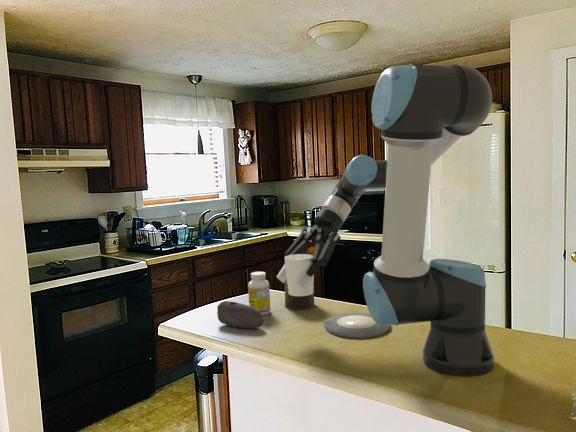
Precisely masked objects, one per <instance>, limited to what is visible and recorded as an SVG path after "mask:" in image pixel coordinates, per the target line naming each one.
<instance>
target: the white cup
mask: <svg viewBox="0 0 576 432" xmlns="http://www.w3.org/2000/svg"><path fill="white" fill-rule="evenodd" d="M313 255H314V254H307V253H304V254H294V255H288V256H286V255H284V263H285V269H286V278H287V285H288V294H289V295H292V296H308V295H311V294H312V293H313V283H315V282H314V281H315V278H314V277H315V274H314V275H313V276H312V277H311V278H310V279H309V281H308V282H307V284H306V286H305V287H304V288H302V287H301V286H300V285H299V284H298V283H297V282H296V281H297V279H298V278H299V276H300V275H301V273H302V272H303V270H304V268H305V267H306V265H307V264H308V262H311V263H313V262H312V261H311V260H310V259H313Z"/></svg>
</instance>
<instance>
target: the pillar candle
mask: <svg viewBox="0 0 576 432" xmlns="http://www.w3.org/2000/svg"><path fill="white" fill-rule="evenodd" d="M314 283H315V282H314ZM314 283H313V293H312V294H311V295H308V296H292V295H289V294H288V285H287V279H286V281H285V282H284V306H285V307H286V308H287V309H289V310H290V309H291V310H308V309H311V308H314V306H315V285H314Z"/></svg>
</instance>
